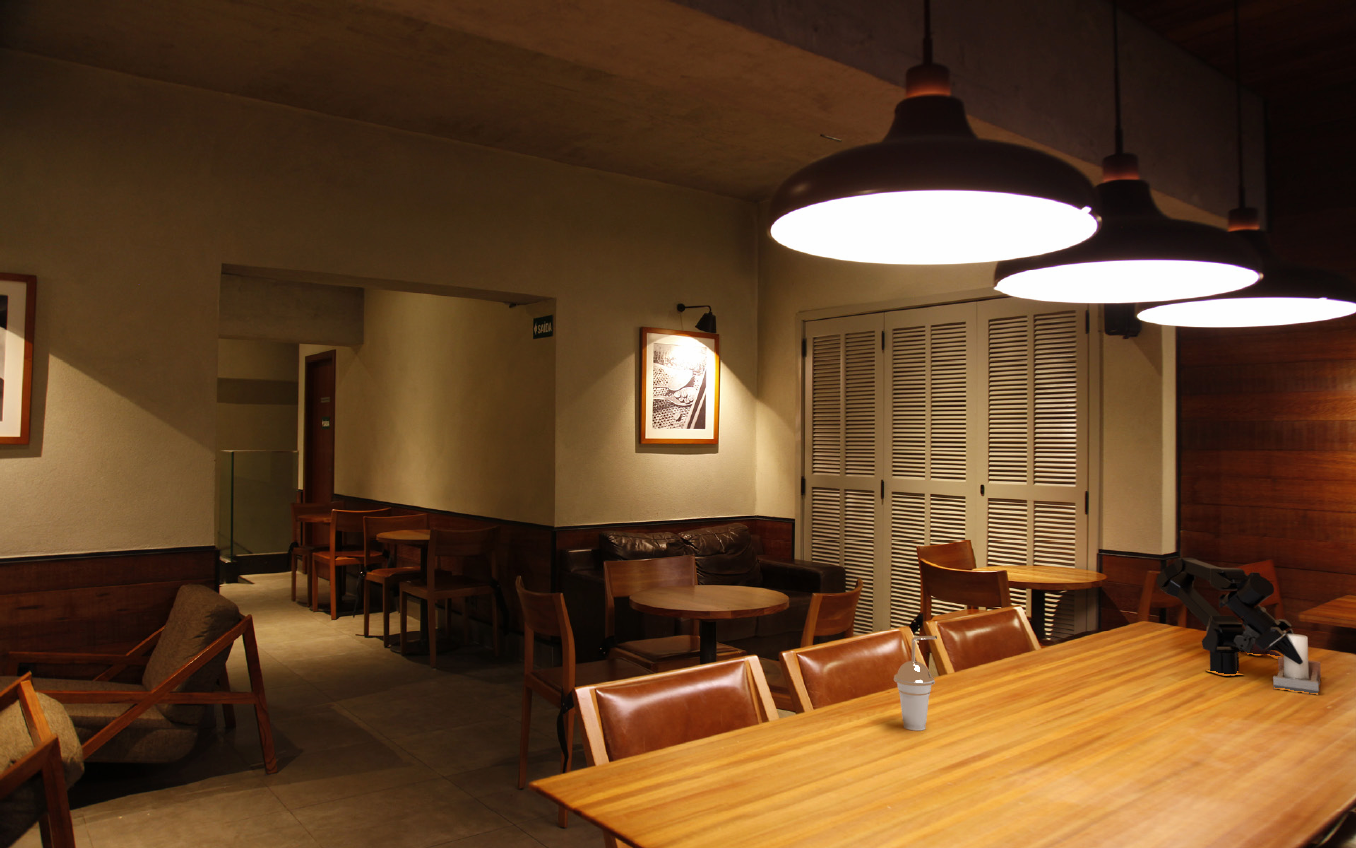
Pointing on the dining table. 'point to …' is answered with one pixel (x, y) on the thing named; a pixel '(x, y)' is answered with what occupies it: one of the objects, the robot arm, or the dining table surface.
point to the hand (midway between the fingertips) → (1302, 661)
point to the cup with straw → (914, 690)
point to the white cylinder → (1302, 648)
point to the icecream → (1263, 651)
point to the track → (1299, 684)
